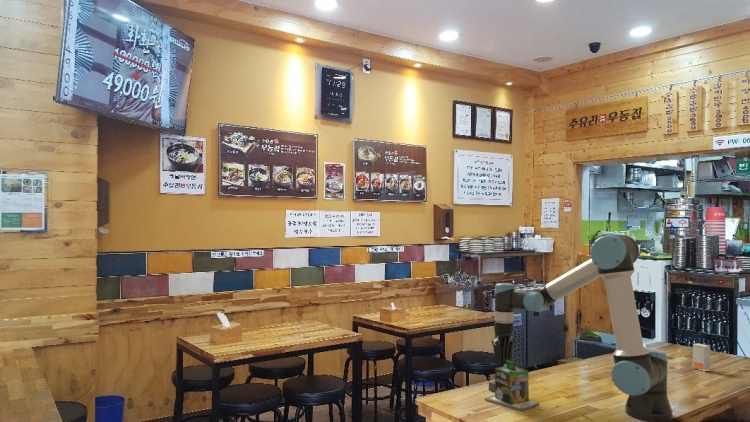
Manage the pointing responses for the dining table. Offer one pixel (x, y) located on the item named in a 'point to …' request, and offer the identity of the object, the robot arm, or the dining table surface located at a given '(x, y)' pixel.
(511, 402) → the chalk box
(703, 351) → the skincare box
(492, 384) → the button housing
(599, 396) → the dining table surface
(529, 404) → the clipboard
